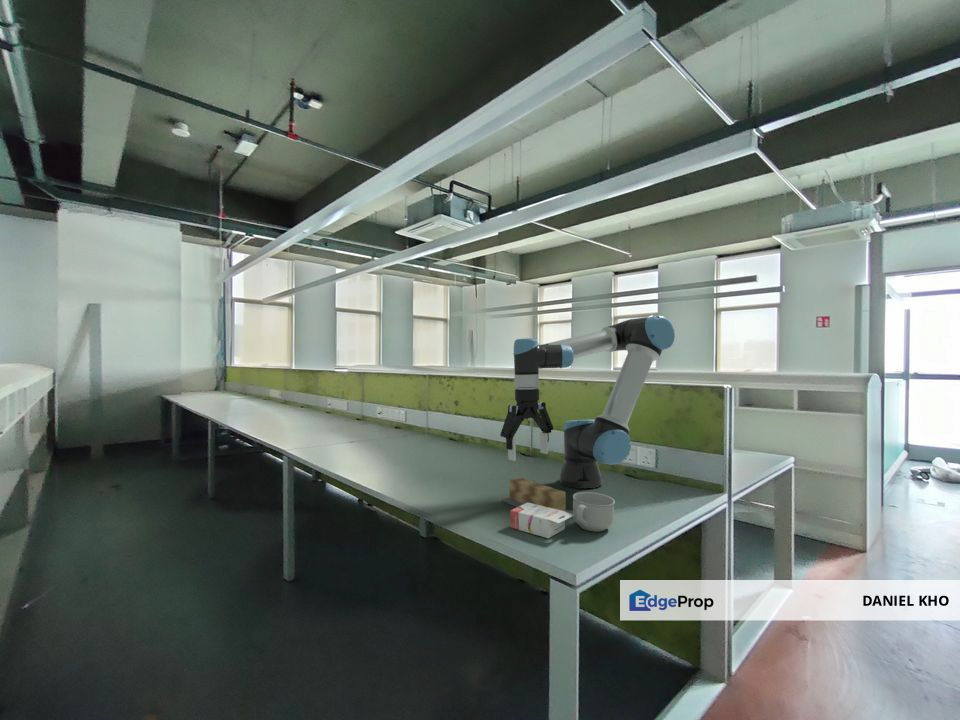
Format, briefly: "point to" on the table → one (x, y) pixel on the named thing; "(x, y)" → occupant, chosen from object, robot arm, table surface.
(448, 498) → the table surface
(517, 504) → the tool mat
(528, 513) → the ink cartridge box
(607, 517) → the teacup
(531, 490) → the oak stick
